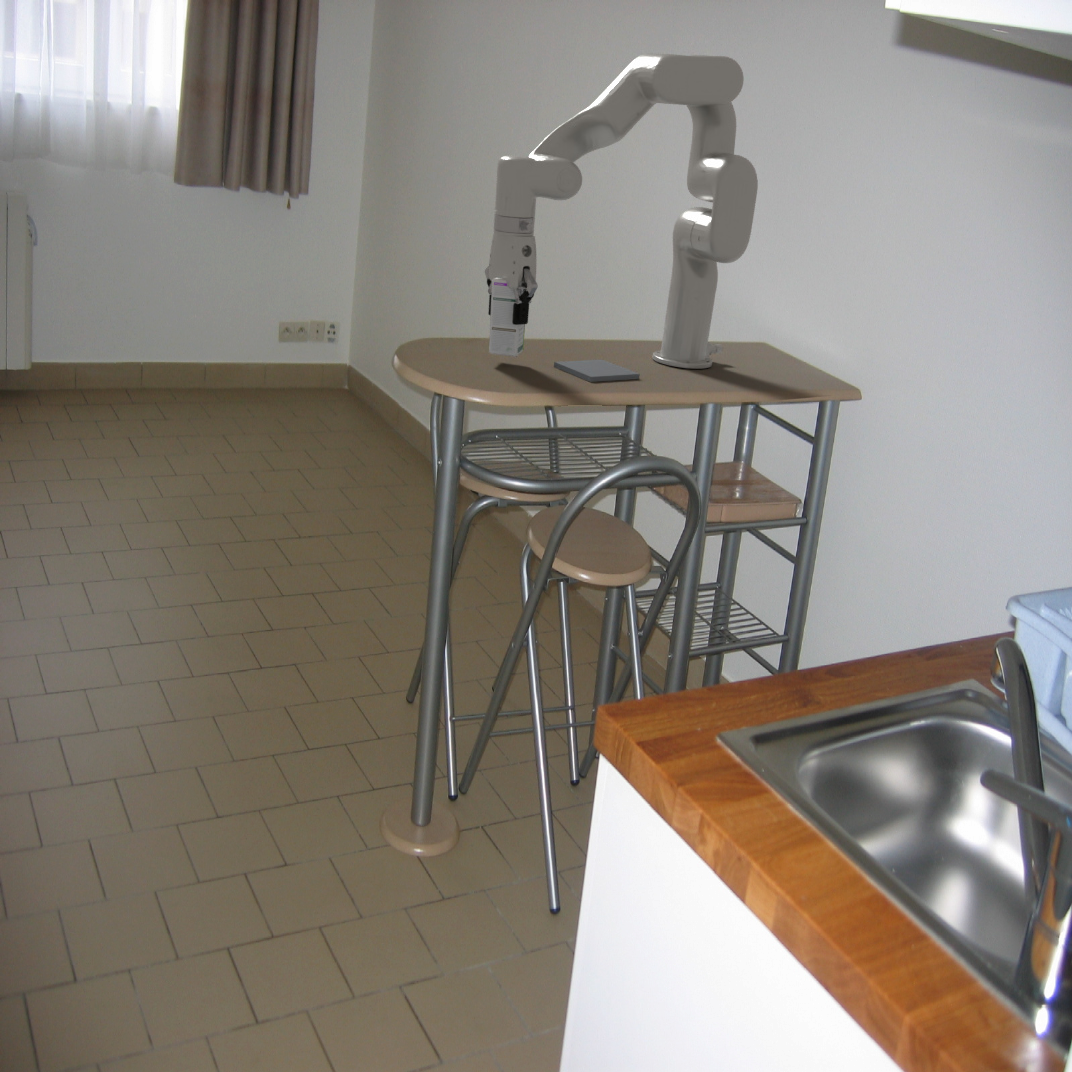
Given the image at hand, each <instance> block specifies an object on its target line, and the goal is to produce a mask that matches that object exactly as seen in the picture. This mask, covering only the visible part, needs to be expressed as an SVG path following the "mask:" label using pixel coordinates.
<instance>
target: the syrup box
mask: <svg viewBox="0 0 1072 1072" xmlns="http://www.w3.org/2000/svg"><path fill="white" fill-rule="evenodd" d="M518 286H523V285H522V282H521V281H520V282H519V285H518ZM522 294H523V291H520V295H522ZM514 303H516V300H515V296H514V291H513V289H510V288H508V287H507V283H506V279H503V278H495V279H493V280H492V296H491V316H490V315H489V316H490V318H489V319H490V322H489V323H490V324H489V337H488V338H489V340H488V341H489V342H488V354H492V355H497V356H502V357H503V356H504V357H513V358H515V357H518V356H519V355H520V354H521V353H522V352H524V349H525V348H524V346H525V328H526V324H521V325H514V324H513V323H512V320H513V306H514Z"/></svg>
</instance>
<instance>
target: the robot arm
mask: <svg viewBox="0 0 1072 1072" xmlns="http://www.w3.org/2000/svg"><path fill="white" fill-rule="evenodd" d="M743 85H744V72H743V69H742V67H741V65H740V64H739V63H738V61H737V60H735V59H733V58H732V57H730V56H726V55H725V56H722V55H704V54H703V55H702V54H691V55H683V54H673V53H653V52H652V53H651V52H650V53H644V54H640V55H639V56H636V57H635V58H634V59H633V60H632V61H630V62H629V64H627V66H626V67H624V69H623V70H622V71H621V72H620V73H619V74H618V76H617V77H615V78H614V79H613V80H612V82H610V84H609V85H608V86H607V87H606V88H605V89H604V90H603V92H601V93H600V94H599V96H598V97H596V98H595V99H594V101H593V102H592V103H591V104H589V105H588V107H586V108H584V109H583V110H581V111H580V112H577V114H575V115H573V116H572V117H571V118H569V119H568V120H566V121H565V122H563V123H562V124H561V125H559V126H557V128H555V129H554V130H553V131H552V132H550V133H549V134H548V135H547V136H546V137H545V138H544V139H543V140H542V141H541V142H540V143H539V144H538V145H537V146H536V148H535V149H534V150H533V151H531V153H530V154H529V155H528V156H524V155H511V154H510V155H508V154H507V155H503V156H501V157H500V158H499V160H498V162H497V172H496V187H495V201H494V202H495V204H494V205H495V206H494V220H493V234H492V239H491V243H490V244H491V245H490V253H489V262H488V266H487V267H486V268H485V269H484V274H485V278H486V285H487V287H488V289H487V293H488V294H489V296H488V297H489V298H488V315H489V316H491V296H492V280H493V279H495V278H503V279H506V283H507V287H508V288H510V289H513V291H514V296H515V300H516V303H514V306H513V320H512V323H513V324H514V325H521V324H525V325H527V324H528V323H529V314H530V313H529V310H530V304H531V303H532V299H533V298H534V296H535V293H536V291H537V289H538V282H537V242H536V236H535V234H534V233H535V223H536V222H535V221H536V220H535V219H536V205H537V198H542V199H549V200H554V201H567V200H570V199H572V198H573V197H575V196H576V195H577V194H578V193H579V191H580V190H581V188H582V185H583V184H582V183H583V176H582V175H583V174H582V172H581V170H580V167H578V165H577V164H576V163H575V162H576V161H578V160H580V158H582V157H584V156H585V155H588V154H590V153H591V152H594V151H597V150H599V149H603V148H606V147H609V146H613V144H616V143H618V142H620V141H621V140H622V139H624V138H625V136H626V135H628V133H629V132H630V131H632V129H633V128H634V127H635V126H636V125H637V124H638V123H639V121H640V120H642V118H643V117H644V116H645V115H646V114H647V113H648V112H649V111H650V110H651V109H652V107H654V106H655V105H656V104H663V105H664V104H668V105H679V106H682V105H683V106H686V107H687V109H688V112H689V114H690V116H691V123H692V136H691V144H690V145H691V146H690V152H689V160H688V167H687V175H686V176H687V177H686V186H687V190H688V192H689V193H690V195H691V196H693V198H695V199H698V200H700V201H705V202H708V203H712V206H711V207H712V208H708V207H703V206H701V207H700V206H695V207H691V208H687V209H686V210H685V211H683V212H682V213H681V214H680V215H679V216H678V217H677V219H676V221H675V223H674V225H673V231H672V255H673V256H672V268H671V269H672V271H671V277H670V278H671V279H670V285H669V290H668V296H667V297H668V298H667V304H666V310H665V311H666V312H665V319H664V326H663V331H662V339H661V340H662V341H661V345H660V347H661V348H660V350H655V351H654V352H652V357H651V358H652V359H653V360H654V361H655V362H657V363H659V364H663V365H666V366H670V367H677V368H680V369H681V368H683V369H695V370H696V369H697V370H698V369H702V370H703V369H707V368H711V367H712V366H713V360H712V359H711V358H710V355H712V354H722V353H723V350H724V347H723V345H722V344H721V343H718V344H717V343H714V344H712V342H709V338H710V337H709V336H710V331H711V324H712V319H713V317H712V316H713V311H714V305H715V299H716V294H717V293H716V292H717V287H718V276H719V274H718V273H719V272H718V263H719V264H731V263H735V262H736V261H738V260H739V259H740V258H741V257H742V256H743V255H744V254H745V252H746V250H747V248H748V245H749V243H750V240H751V239H750V238H751V235H752V229H753V227H752V226H753V223H754V222H753V221H754V215H755V210H756V209H755V208H756V202H757V194H758V186H759V185H758V184H759V183H758V176H757V175H758V174H757V172H756V169H755V167H754V165H753V163H752V162H751V160H749V159H748V158H746V157H744V156H742V155H739V154H738V155H737V154H735V145H736V136H737V117H736V112H735V108H734V105H733V103H732V102H733V101H735V99H737V97H738V96H739V95H740V93H741V92H742V89H743ZM520 281H521V282H522V285H523V286H518V285H519V282H520ZM520 291H523V294H522V295H520Z"/></svg>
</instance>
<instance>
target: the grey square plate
mask: <svg viewBox="0 0 1072 1072" xmlns="http://www.w3.org/2000/svg"><path fill="white" fill-rule="evenodd" d="M553 367H554V368H555V369H558V370H560V371H562V372H565V373H568V374H569V375H573V376H575V377H577V378H580V379H582V380H584V381H587V382H590V383H595V382H611V381H612V382H613V381H626V380H640V373H639V372H636V371H633V370H631V369H629V368H626V367H623V366H620V365H618V364H615V363H613V362H610V361H607V360H605V359H583V360H566V361H565V360H564V361H562V360H561V361H554V363H553Z"/></svg>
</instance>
